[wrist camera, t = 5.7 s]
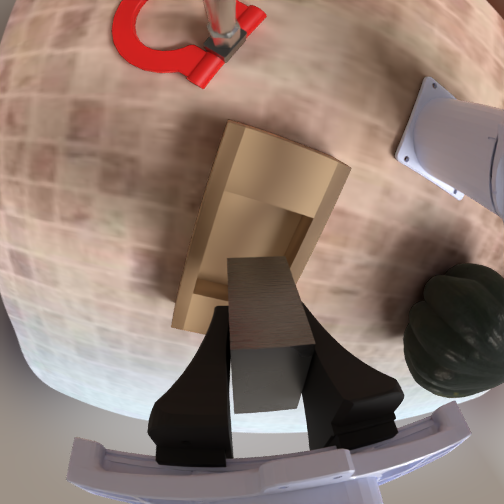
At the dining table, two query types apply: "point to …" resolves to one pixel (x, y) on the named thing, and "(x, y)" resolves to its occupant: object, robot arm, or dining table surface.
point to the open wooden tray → (255, 214)
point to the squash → (458, 332)
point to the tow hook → (190, 57)
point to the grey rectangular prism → (266, 335)
